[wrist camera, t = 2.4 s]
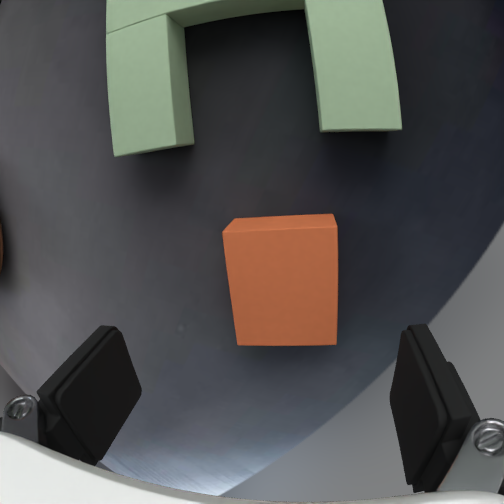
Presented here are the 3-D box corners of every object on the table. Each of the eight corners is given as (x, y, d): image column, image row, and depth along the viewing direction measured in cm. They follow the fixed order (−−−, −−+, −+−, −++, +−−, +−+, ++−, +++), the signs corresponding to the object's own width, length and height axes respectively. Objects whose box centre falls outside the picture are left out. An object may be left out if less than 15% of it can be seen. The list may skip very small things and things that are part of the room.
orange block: (333, 213, 15) (337, 226, 13) (334, 319, 17) (336, 345, 15) (234, 218, 16) (221, 231, 14) (246, 320, 18) (237, 345, 16)
